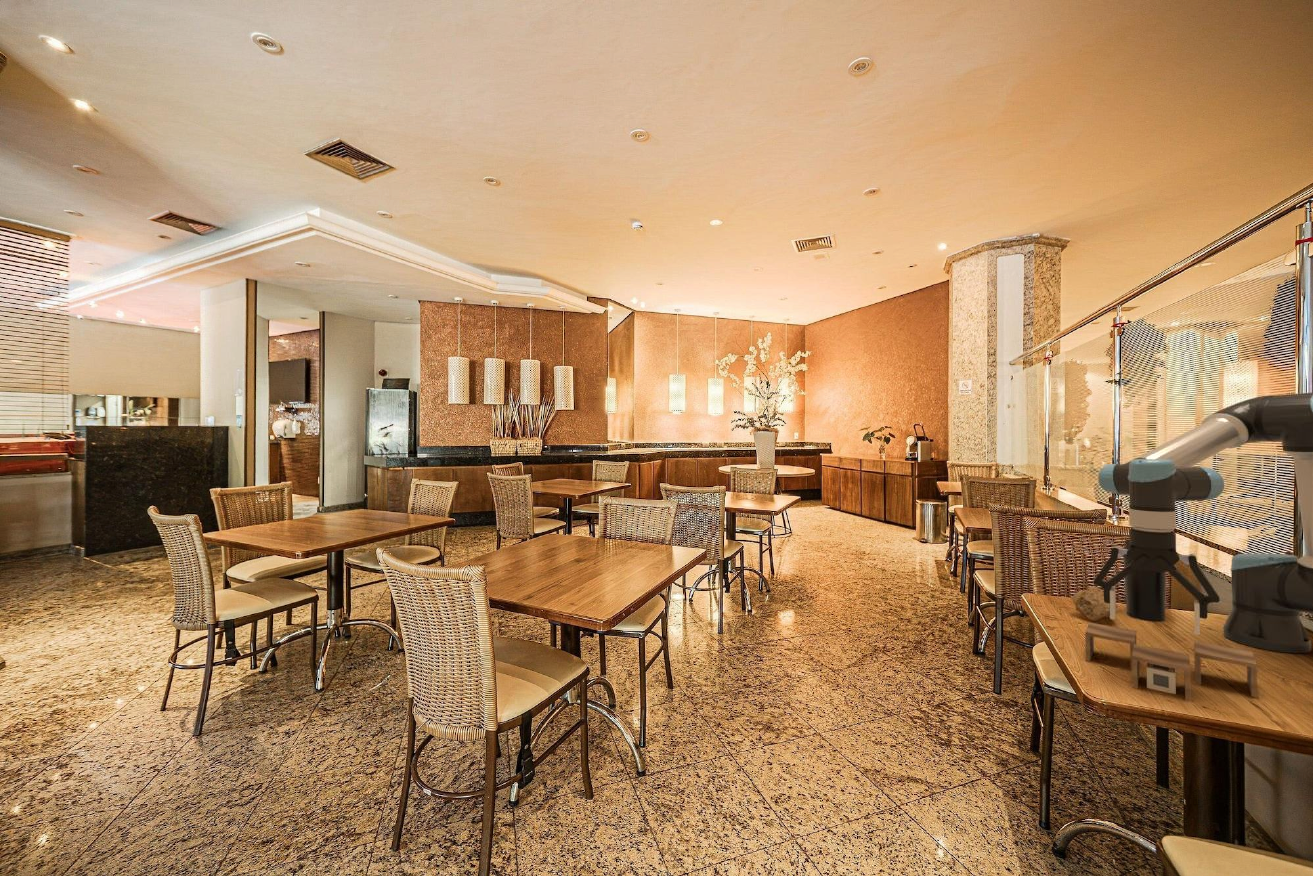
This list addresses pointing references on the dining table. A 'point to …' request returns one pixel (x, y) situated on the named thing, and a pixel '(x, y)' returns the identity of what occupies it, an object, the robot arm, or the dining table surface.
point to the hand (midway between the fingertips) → (1153, 625)
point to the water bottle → (1145, 592)
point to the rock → (1092, 603)
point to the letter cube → (1161, 678)
